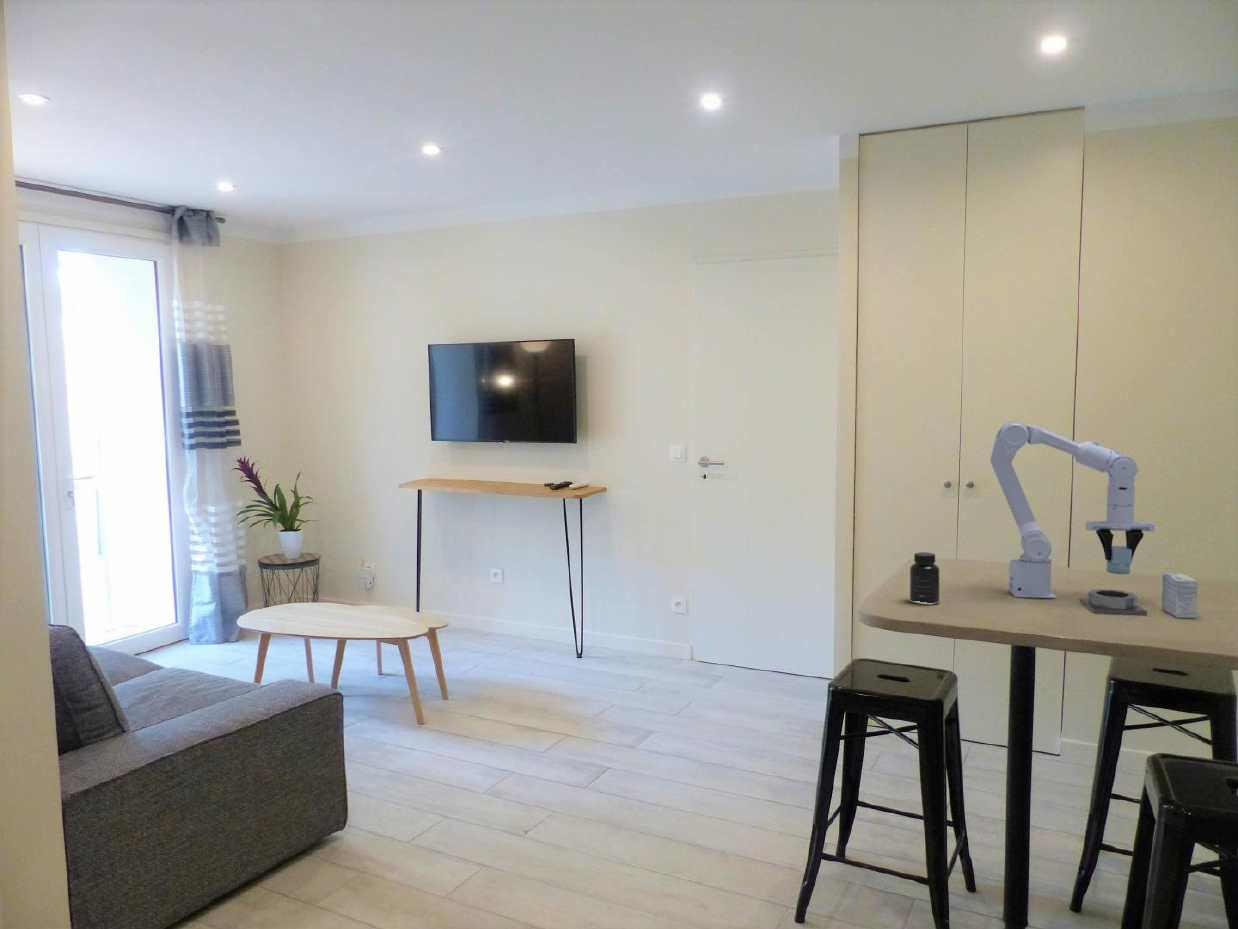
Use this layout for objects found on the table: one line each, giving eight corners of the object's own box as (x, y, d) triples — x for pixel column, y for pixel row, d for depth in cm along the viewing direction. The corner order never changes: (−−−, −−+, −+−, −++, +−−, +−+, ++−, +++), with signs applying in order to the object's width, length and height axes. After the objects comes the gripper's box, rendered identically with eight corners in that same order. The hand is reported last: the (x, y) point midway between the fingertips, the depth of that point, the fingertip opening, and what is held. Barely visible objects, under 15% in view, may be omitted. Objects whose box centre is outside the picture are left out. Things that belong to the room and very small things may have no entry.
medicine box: (1197, 619, 195) (1198, 580, 194) (1175, 618, 196) (1176, 580, 195) (1182, 610, 202) (1183, 573, 202) (1160, 609, 203) (1162, 573, 203)
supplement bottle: (913, 597, 218) (913, 550, 217) (941, 600, 215) (942, 552, 214) (906, 603, 212) (907, 555, 211) (936, 606, 209) (936, 557, 208)
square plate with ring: (1094, 613, 200) (1094, 598, 200) (1079, 602, 211) (1079, 587, 211) (1146, 615, 198) (1147, 600, 198) (1129, 603, 209) (1129, 589, 209)
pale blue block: (1110, 573, 210) (1111, 549, 210) (1103, 569, 215) (1104, 545, 214) (1133, 574, 209) (1134, 549, 209) (1125, 570, 214) (1126, 546, 213)
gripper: (1093, 506, 208) (1091, 562, 209) (1160, 507, 205) (1158, 564, 206) (1083, 502, 215) (1082, 557, 216) (1148, 503, 212) (1146, 558, 213)
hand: (1118, 560), depth 212 cm, fingers closed on pale blue block, 4 cm apart
